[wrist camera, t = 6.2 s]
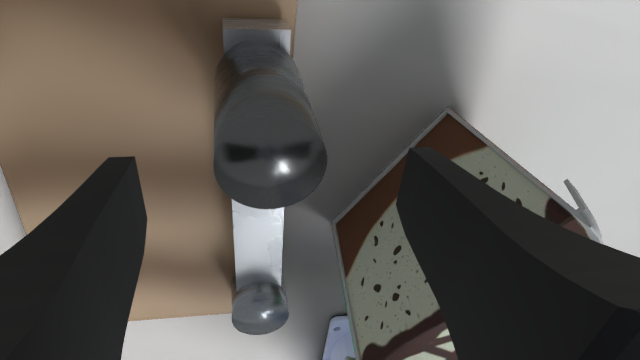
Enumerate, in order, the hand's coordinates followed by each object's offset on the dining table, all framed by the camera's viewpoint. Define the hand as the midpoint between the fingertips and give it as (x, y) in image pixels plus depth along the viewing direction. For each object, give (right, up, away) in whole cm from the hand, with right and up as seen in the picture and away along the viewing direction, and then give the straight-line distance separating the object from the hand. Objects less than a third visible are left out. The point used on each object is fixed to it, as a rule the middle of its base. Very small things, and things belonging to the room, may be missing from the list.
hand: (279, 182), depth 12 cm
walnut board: (-7, +1, +10) cm, 12 cm away
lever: (-2, 0, +10) cm, 10 cm away
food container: (+7, 0, +14) cm, 16 cm away
